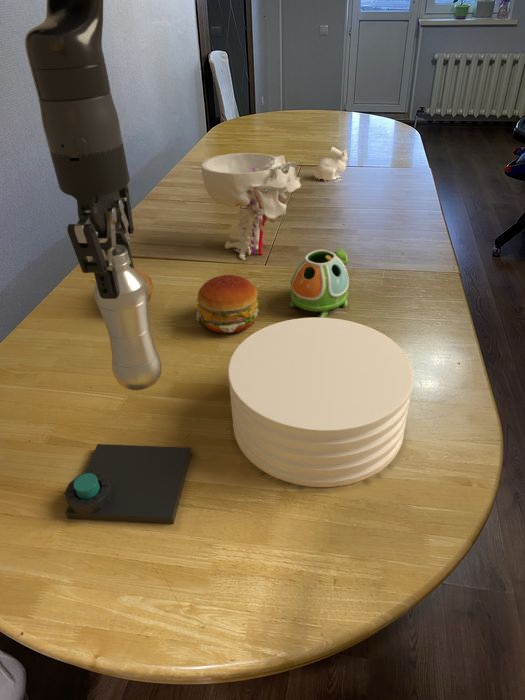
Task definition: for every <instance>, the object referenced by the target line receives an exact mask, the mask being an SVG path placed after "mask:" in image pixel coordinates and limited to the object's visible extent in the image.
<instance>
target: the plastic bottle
mask: <svg viewBox="0 0 525 700" xmlns="http://www.w3.org/2000/svg"><path fill="white" fill-rule="evenodd" d="M102 252H103V255H104V258H105V254H104V250H103V249H102ZM112 256H113V268H114V270H115V275H116V279H117V284H118V288H119V296H118V297H117V298H116V299H103V298H101V297H100V295H99V291H98V287H97V283H96V282H95V283H94V286H93V297H94V300H95V302H96V305H97V307H98V309H99V311H100V314H101V317H102V318H103V322H104V325H105V328H106V330H107V334H108V338H109V342H110V343H109V344H110V351H111V367H112V369H111V370H112V374H113V376H114V379H115V380H116V382H117V383H118V384H119V386H121V387H123V388H124V389H126V390H130V391H141V390H146V389H148V388H150V387H152V386H153V385H155V384H156V383H157V382H158V380H159V379H160V378H161V375H162V361H161V360H162V359H161V358H160V354H159V352H158V350H157V348H156V345H155V341H154V339H153V335H152V331H151V324H150V317H149V301H148V290H147V285H146V283H145V281H144V279H143V278H142V276H141V275H140V274H139V273H138V272H137V271H135V270H134V269H133V268H132V267H130V266H129V265H130V264H131V260H130V257H129V255H128V251H127V248H126V247H125V246H123V245H118V244H116V248H115V249H113V251H112Z"/></svg>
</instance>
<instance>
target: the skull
mask: <svg viewBox="0 0 525 700" xmlns="http://www.w3.org/2000/svg"><path fill="white" fill-rule="evenodd" d="M298 165H299V162H298V161H286V158H285V155H282V154H279V155H278V156H275V155H271V154H267V153H266V154H265V153H259V152H258V153H257V152H239V153H237V152H236V153H235V152H234V153H227V154H220V155H215V156H212V157H210V158H207V159H205V160H204V161H203V162H202V163H201V176H202V179H203V184H204V187H205V190H206V192H207V194H208V196H209V197H210V198H211V200H213V202H215V203H217V204H218V205H219V204H222V205H224V206H227V207H231V208H239V211H238V212H237V214H236V218H237V219H239V220H238V224H237V225H236V228H235V230H236V232H239V233H240V234H230V235H229V238H230V239H234V240H236V241H235V242H230V241H229V240H228V241H226V242H225V244H224V248H225V249H226V250H229V249H230V248H234V251H236V252H238V253H239V254H238V258H239V259H241V260H243V261H244V260H247V258H246V255H247V256H251V255H255V256H256V255H257V254H259V256H263V255H264V253H263V248H262V247H264V242H263V239H264V229H265V224H266V222H267V220H268V219H269V221H270V222H271V223H272V224H273V223H275V219H277V217H279V218H280V219H281V217H282V216H284V217H285V216H286V213H287V200H288V199H287V198H288V196H287V195H286V194H285V193H288V194H291V193H293V192H295V191H296V190H298V189H300V188H301V187H302V184H301V182H300V179H301V177H299V176H297V175H296V168H297V166H298ZM243 206H244V207H243ZM242 216H243V217H242ZM237 240H238V241H237ZM235 248H236V249H235ZM257 251H258V253H257Z"/></svg>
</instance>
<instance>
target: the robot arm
mask: <svg viewBox="0 0 525 700" xmlns="http://www.w3.org/2000/svg"><path fill="white" fill-rule="evenodd" d="M103 28H104V0H46V13H45V19H44V21H43V22H42V23H40V24H39V25H36V26H35V27H33V28H31V29H30V30H29V31H28V32H27V33H26V34H25V37H24V38H25V39H24V47H25V48H24V49H25V53H26V57H27V62H28V65H29V68H30V72H31V76H32V80H33V84H34V87H35V91H36V95H37V98H38V104H39V109H40V118H41V124H42V128H43V132H44V135H45V139H46V143H47V146H48V150H49V155H50V158H51V162H52V164H53V169H54V174H55V177H56V181H57V185H58V188H59V190H60V191H61V192H62V193H63V194H65V195H68V196H71V197H72V198H74V199H75V200H76V206H77V220H78V221H77V223H69V224H67V229H66V231H67V234H68V237H69V239H70V242H71V245H72V248H73V250H74V253H75V256H76V258H77V259H76V260H77V261H78V264H79V266H80V269H81V272H82V273H83V274H94V278H95V283H97V287H98V291H99V295H100V297H101V298H103V299H116V298H117V297H118V296H119V288H118V284H117V279H116V275H115V270H114V268H113V256H112V251H113V249H115V248H116V244H118V245H123V246H125V247H126V248H127V251H128V255H129V257H130V260H131V264H130V265H129V266H130V267H132V268H133V269H134V266H135V265H134V262H133V258H132V253H131V247H130V245H131V242H132V238H131V235H133V234H134V232H135V228H134V222H133V221H134V220H133V213H132V206H131V199H130V189H129V186H128V184H130V174H129V168H128V163H127V158H126V151H125V146H124V141H123V135H122V131H121V125H120V120H119V115H118V112H117V109H116V105H115V103H114V100H113V99H114V98H113V95H112V92H111V86H110V80H109V75H108V70H107V64H106V60H105V56H104V51H103ZM99 239H100V240H101V239H106V240H105V241H103V242H100V240H99ZM102 249H103V250H104V254H105V258H104V255H103V252H102ZM133 265H134V266H133Z"/></svg>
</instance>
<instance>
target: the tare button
mask: <svg viewBox="0 0 525 700" xmlns="http://www.w3.org/2000/svg"><path fill="white" fill-rule="evenodd" d="M79 475H80V476H79ZM79 475H78V476H79V477H78V478H77V479H76V480H75V481H74V489H75V491H76V494H77V496H78V497H79V498H81V499H90V498H92V497H94V496H95V495H96V494H97V493H98V492H99V490H100V485H99V482H98V479H97V477H96V475H94V474H92V473H86V474H84V473H82V474H79Z"/></svg>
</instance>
